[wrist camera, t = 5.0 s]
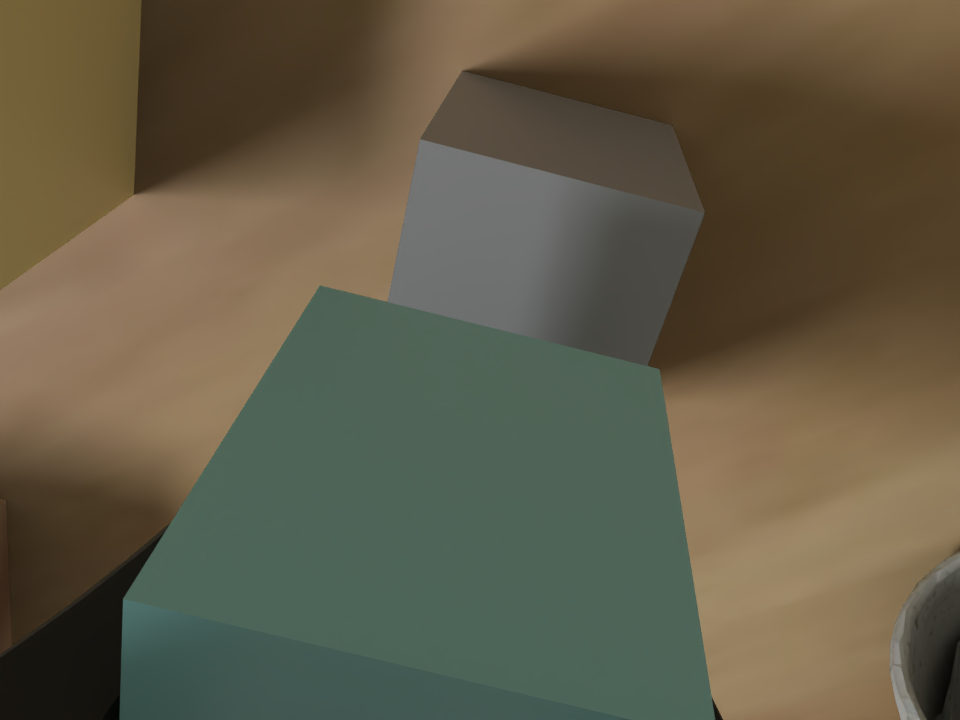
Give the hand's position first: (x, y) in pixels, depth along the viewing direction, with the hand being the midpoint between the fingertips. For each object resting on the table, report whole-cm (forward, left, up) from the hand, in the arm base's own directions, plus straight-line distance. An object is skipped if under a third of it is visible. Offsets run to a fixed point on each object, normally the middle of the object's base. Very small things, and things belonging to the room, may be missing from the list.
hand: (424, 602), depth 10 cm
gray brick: (+1, 0, -9) cm, 9 cm away
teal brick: (0, 0, -1) cm, 1 cm away
